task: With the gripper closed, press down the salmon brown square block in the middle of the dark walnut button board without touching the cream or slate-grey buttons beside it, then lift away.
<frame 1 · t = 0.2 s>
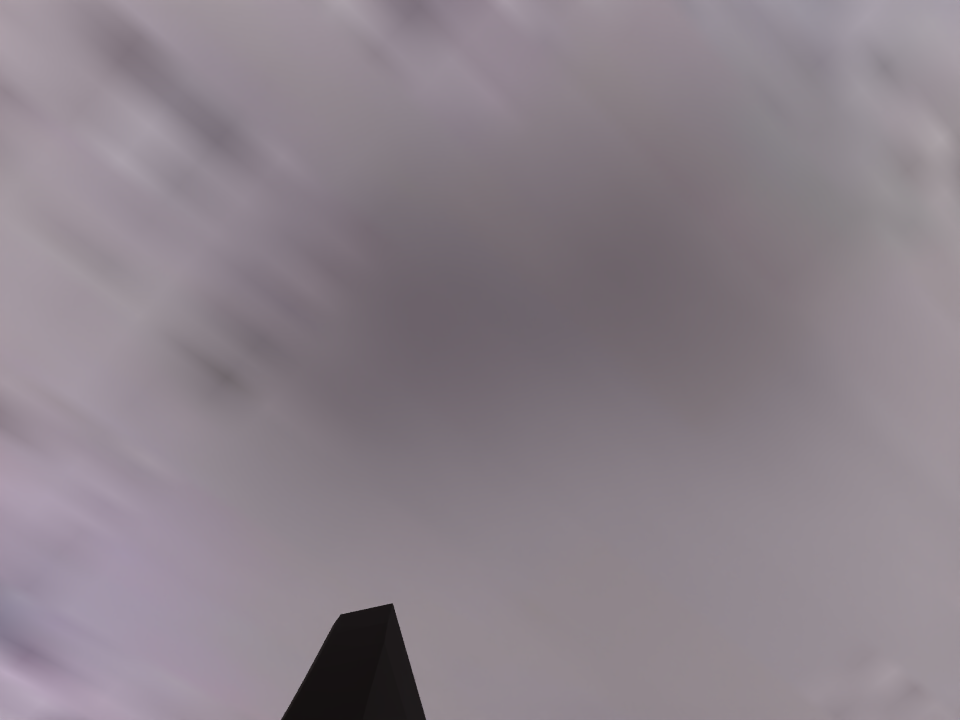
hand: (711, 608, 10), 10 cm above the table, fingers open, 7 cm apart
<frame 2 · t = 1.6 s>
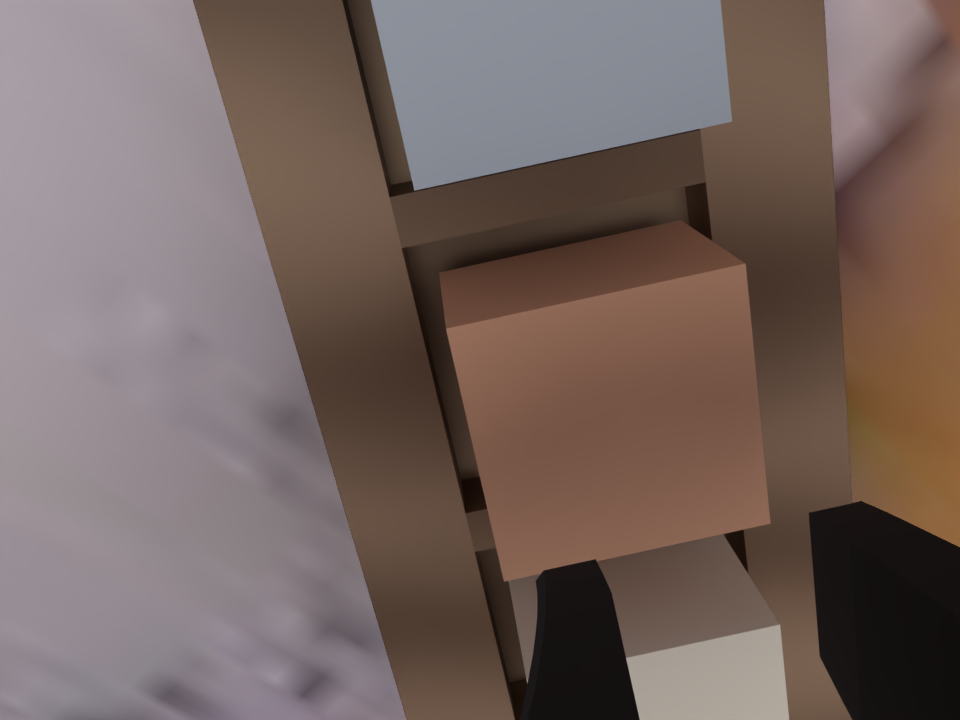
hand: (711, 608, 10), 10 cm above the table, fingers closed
board: (562, 327, 20), on the table
salmon brown square block: (596, 391, 16), point 4 cm above the table, slide at 0.0 cm
button cream: (646, 687, 19), point 4 cm above the table, slide at 0.0 cm
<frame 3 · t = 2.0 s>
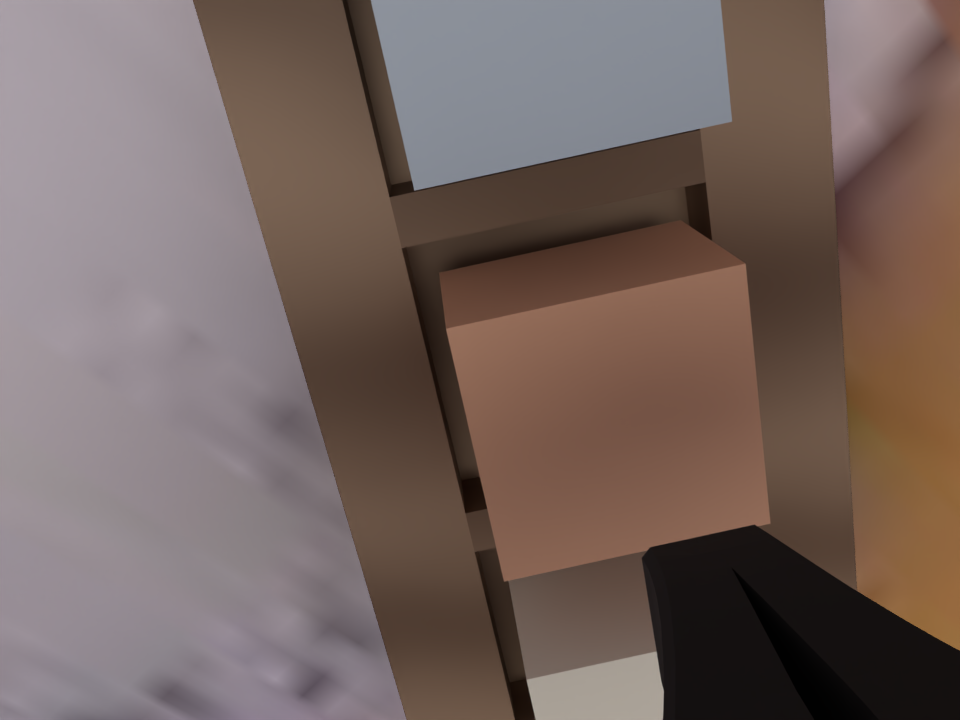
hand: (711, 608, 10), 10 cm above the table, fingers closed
board: (562, 327, 20), on the table
salmon brown square block: (596, 391, 16), point 4 cm above the table, slide at 0.0 cm
button cream: (646, 687, 19), point 4 cm above the table, slide at 0.0 cm
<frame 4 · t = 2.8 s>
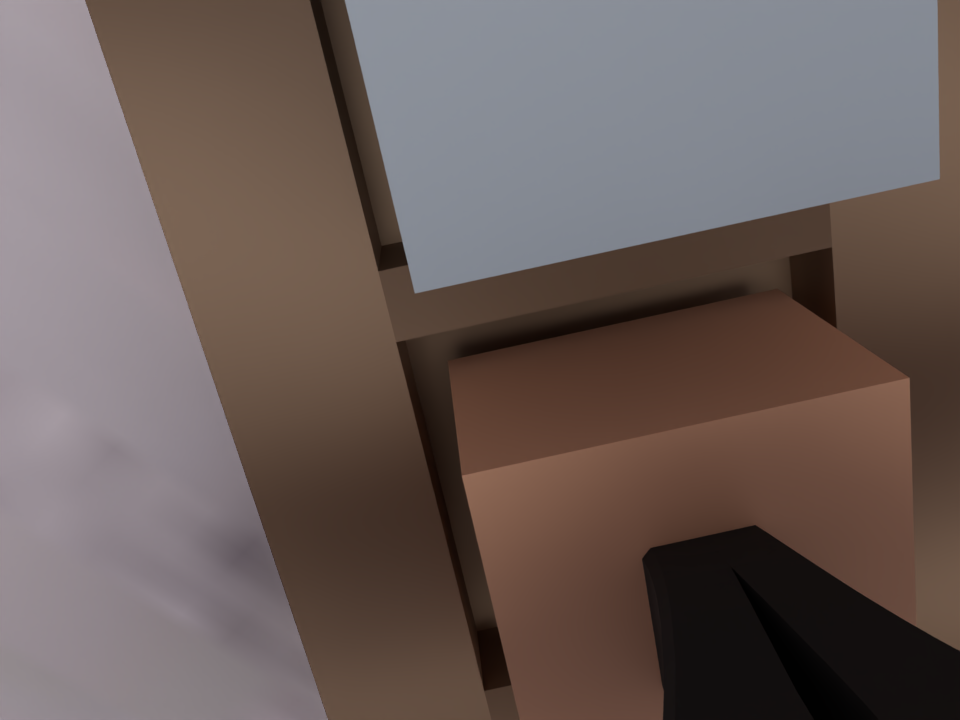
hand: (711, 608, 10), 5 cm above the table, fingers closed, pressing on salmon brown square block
board: (613, 430, 15), on the table
salmon brown square block: (667, 532, 12), point 3 cm above the table, slide at 0.6 cm, touching gripper
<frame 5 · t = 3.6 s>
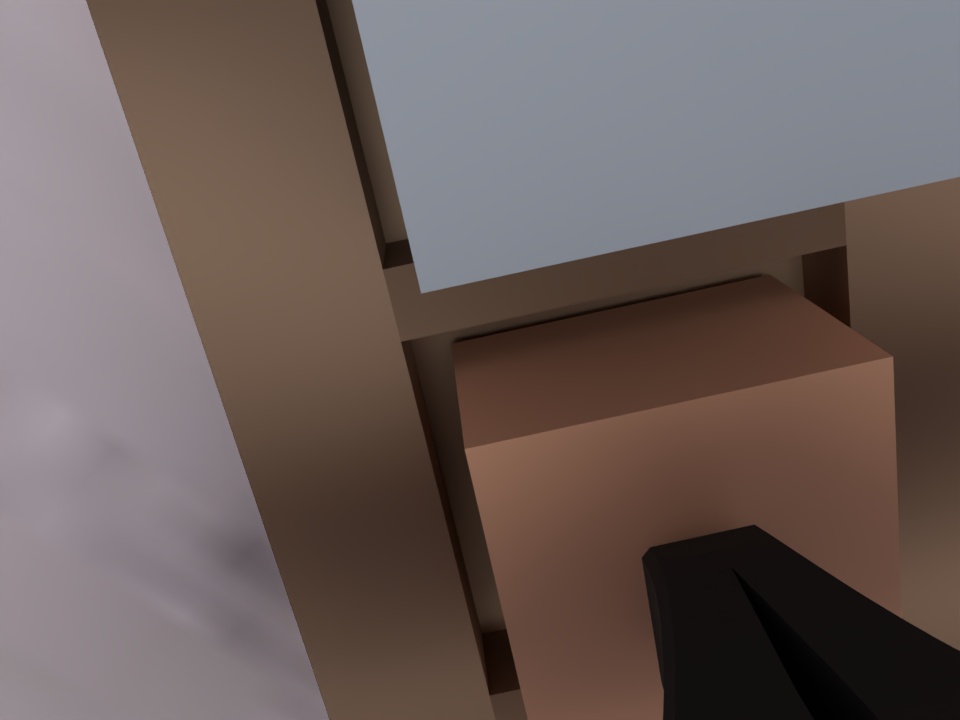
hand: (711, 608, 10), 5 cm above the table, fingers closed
board: (621, 430, 14), on the table
salmon brown square block: (662, 508, 12), point 3 cm above the table, slide at 1.3 cm
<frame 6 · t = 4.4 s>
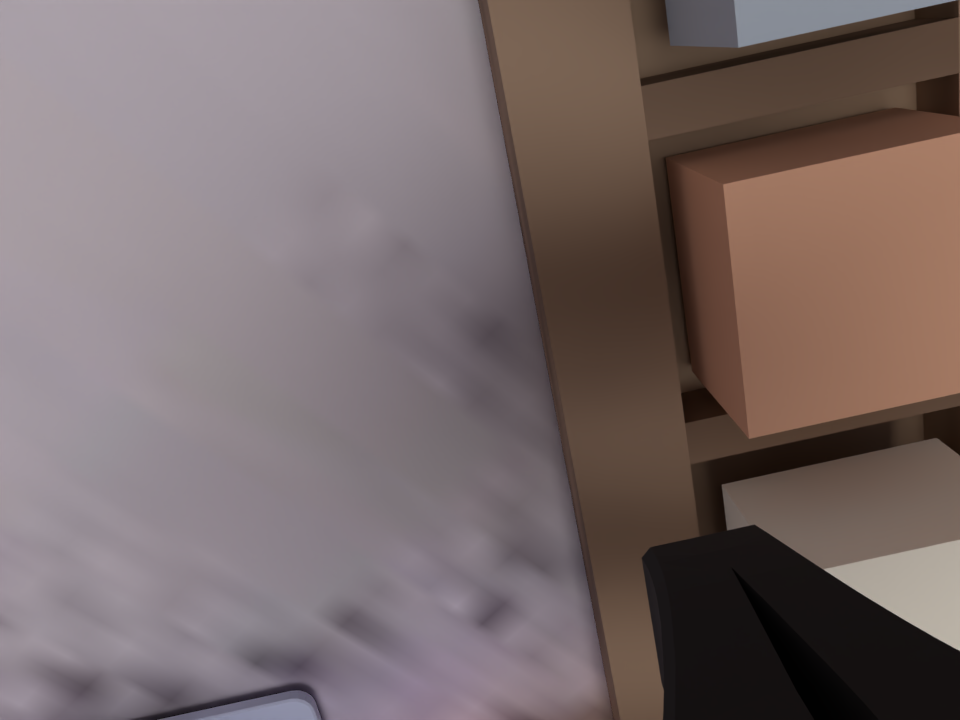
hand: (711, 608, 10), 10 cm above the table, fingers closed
board: (774, 237, 19), on the table
salmon brown square block: (825, 265, 17), point 3 cm above the table, slide at 1.3 cm
button cream: (873, 599, 18), point 4 cm above the table, slide at 0.0 cm
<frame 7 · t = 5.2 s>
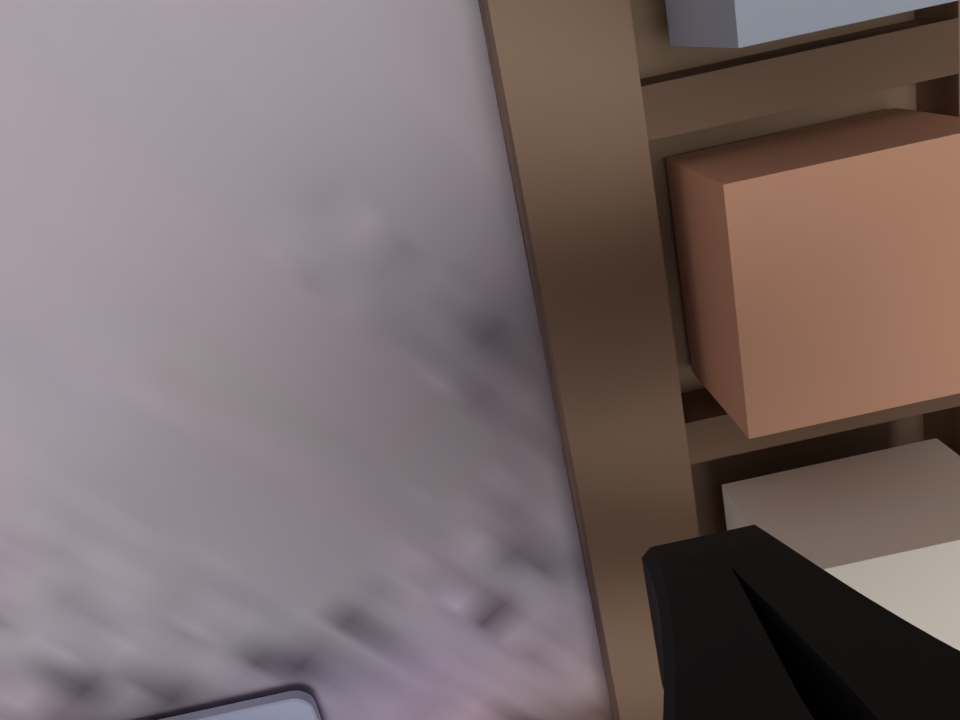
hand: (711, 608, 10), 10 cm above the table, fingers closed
board: (774, 237, 19), on the table
salmon brown square block: (825, 265, 17), point 3 cm above the table, slide at 1.3 cm
button cream: (873, 599, 18), point 4 cm above the table, slide at 0.0 cm
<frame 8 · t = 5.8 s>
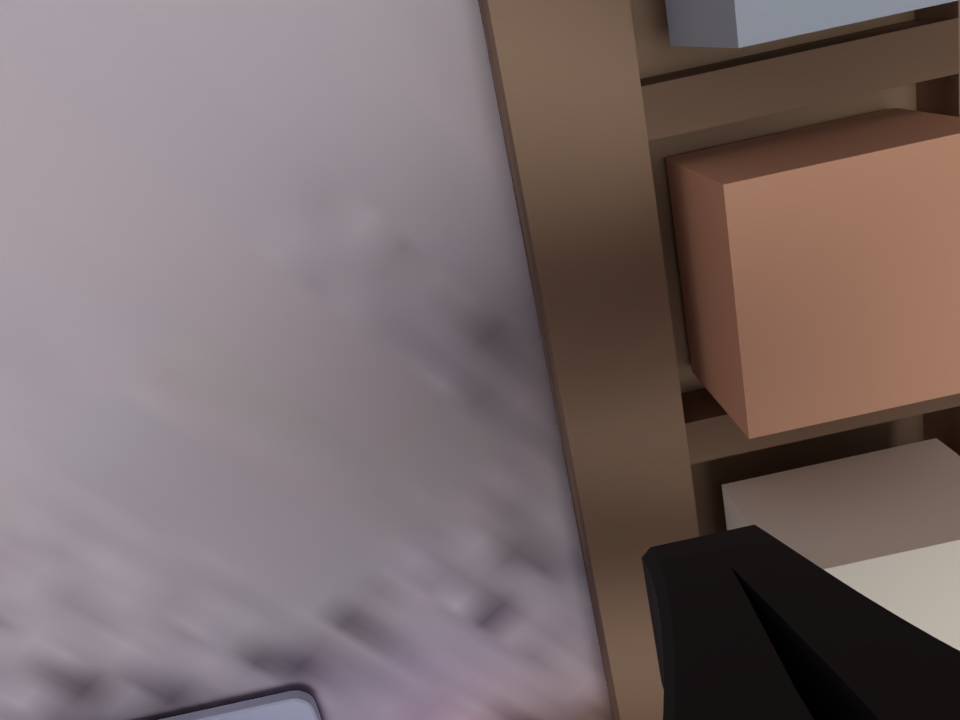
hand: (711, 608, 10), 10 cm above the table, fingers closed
board: (774, 237, 19), on the table
salmon brown square block: (825, 265, 17), point 3 cm above the table, slide at 1.3 cm
button cream: (873, 599, 18), point 4 cm above the table, slide at 0.0 cm
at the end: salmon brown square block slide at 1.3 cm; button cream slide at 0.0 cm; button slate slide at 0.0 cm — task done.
